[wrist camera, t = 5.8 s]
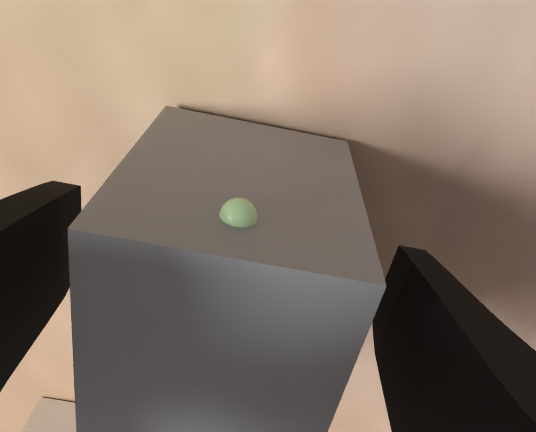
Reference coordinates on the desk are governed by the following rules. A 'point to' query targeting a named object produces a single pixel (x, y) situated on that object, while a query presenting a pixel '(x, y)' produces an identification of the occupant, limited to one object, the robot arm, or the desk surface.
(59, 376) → the desk surface
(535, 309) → the desk surface
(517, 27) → the desk surface
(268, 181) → the block
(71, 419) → the power strip
